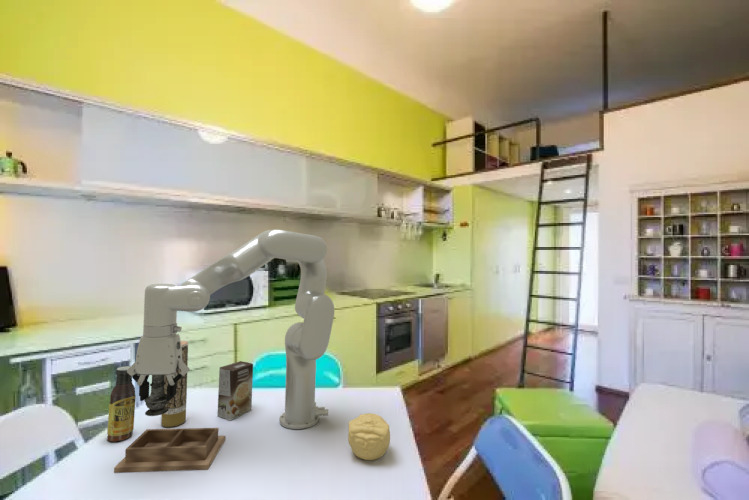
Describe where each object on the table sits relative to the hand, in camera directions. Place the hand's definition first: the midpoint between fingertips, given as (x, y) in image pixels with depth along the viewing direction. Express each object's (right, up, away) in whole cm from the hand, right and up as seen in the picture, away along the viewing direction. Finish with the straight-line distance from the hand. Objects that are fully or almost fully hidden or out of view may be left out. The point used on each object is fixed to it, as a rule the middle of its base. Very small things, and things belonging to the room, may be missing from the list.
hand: (157, 398), depth 94 cm
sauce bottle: (-16, -15, +9) cm, 23 cm away
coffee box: (+11, -16, +25) cm, 32 cm away
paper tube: (-6, -15, +18) cm, 24 cm away
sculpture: (+56, -17, +4) cm, 59 cm away
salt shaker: (0, -4, 0) cm, 4 cm away
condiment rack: (+4, -15, +1) cm, 16 cm away
